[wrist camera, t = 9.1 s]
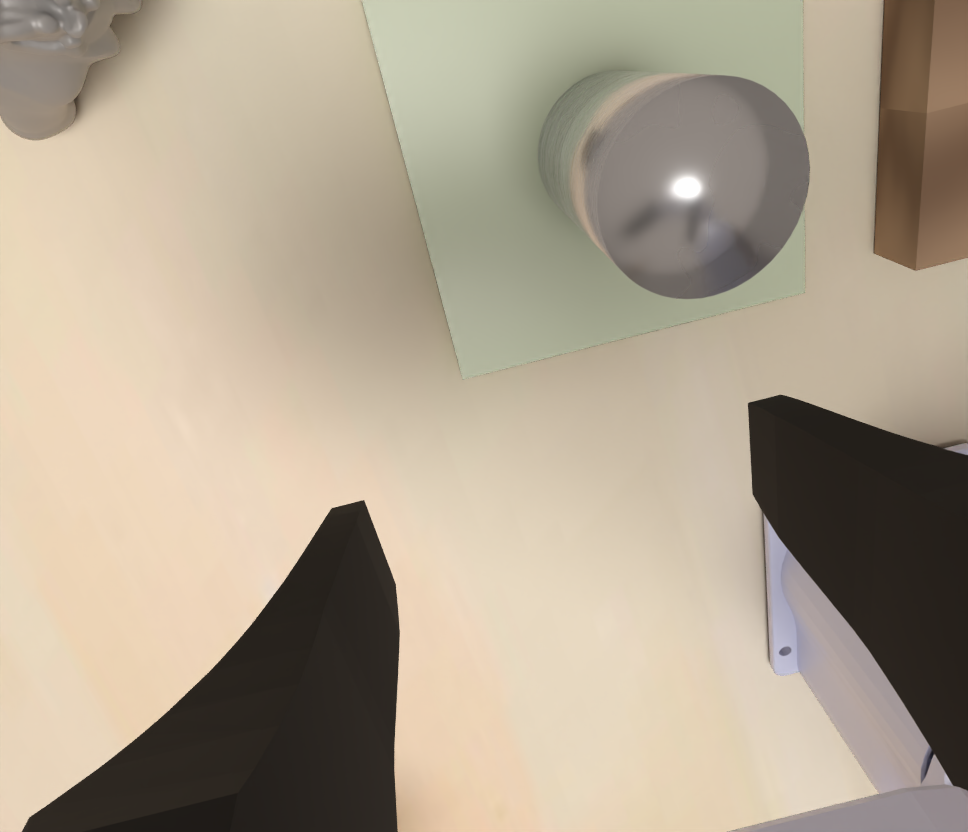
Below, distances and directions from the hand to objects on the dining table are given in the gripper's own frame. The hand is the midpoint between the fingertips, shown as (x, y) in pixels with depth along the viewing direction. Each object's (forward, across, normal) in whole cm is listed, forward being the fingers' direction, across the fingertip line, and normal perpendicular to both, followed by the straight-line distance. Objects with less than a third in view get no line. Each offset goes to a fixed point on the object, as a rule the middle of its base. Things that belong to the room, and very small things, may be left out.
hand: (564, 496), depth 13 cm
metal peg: (+9, -4, -4) cm, 11 cm away
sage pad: (+10, -4, -4) cm, 11 cm away
